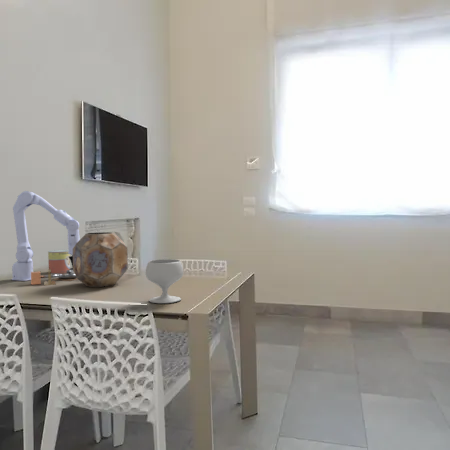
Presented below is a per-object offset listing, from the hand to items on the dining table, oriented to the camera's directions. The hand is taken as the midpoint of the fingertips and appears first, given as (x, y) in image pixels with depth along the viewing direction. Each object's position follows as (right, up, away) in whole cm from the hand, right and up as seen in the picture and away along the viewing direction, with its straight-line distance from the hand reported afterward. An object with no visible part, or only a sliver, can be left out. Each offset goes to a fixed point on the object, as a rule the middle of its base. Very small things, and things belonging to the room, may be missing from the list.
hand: (75, 269), depth 221 cm
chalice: (+54, -6, -58) cm, 80 cm away
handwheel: (-2, -4, -3) cm, 6 cm away
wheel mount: (-2, -4, -3) cm, 6 cm away
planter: (+19, -5, -22) cm, 30 cm away
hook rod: (-8, -4, -17) cm, 19 cm away
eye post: (-6, -5, -16) cm, 18 cm away
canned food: (-15, -4, +19) cm, 25 cm away
